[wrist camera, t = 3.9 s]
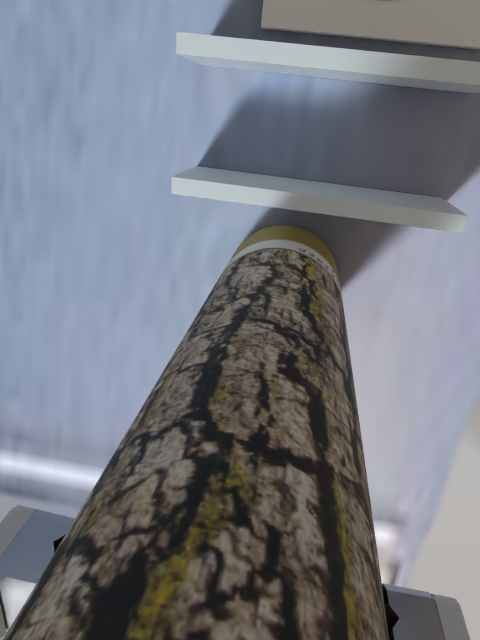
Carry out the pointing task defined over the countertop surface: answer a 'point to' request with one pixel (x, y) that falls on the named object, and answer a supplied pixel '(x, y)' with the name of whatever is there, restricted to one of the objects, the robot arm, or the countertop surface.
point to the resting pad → (380, 20)
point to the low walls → (330, 66)
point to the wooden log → (232, 479)
